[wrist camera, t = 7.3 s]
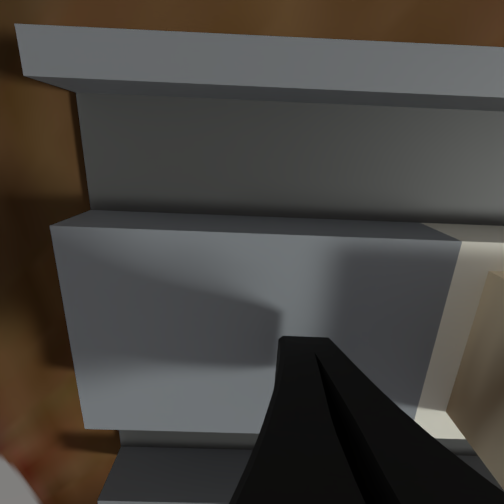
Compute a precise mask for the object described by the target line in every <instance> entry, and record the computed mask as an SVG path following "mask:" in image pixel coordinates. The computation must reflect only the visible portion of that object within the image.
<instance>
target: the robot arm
mask: <svg viewBox="0 0 504 504" xmlns="http://www.w3.org/2000/svg"><path fill="white" fill-rule="evenodd" d="M229 504H504V492H503V491H502V490H501V489H499V488H498V487H497V486H495V485H494V484H492V483H491V482H490V481H488V480H487V479H486V478H484V477H483V476H482V475H481V474H479V473H478V472H477V471H475V470H474V469H473V468H472V467H470V466H469V465H468V464H466V463H465V462H464V461H463V460H461V459H460V458H459V457H457V456H456V455H455V454H454V453H452V452H451V451H450V450H448V449H447V448H446V447H445V446H443V445H442V444H441V443H440V442H439V441H437V440H436V439H435V438H434V437H433V436H431V435H430V434H429V433H428V432H427V431H425V430H424V429H423V428H422V427H421V426H420V425H419V424H417V423H416V422H415V421H414V420H413V419H412V418H411V417H410V416H408V415H407V414H406V413H405V412H404V411H403V410H402V409H400V408H399V407H398V406H397V405H396V404H395V403H394V402H393V401H392V400H391V399H390V398H389V397H387V396H386V395H385V394H384V393H383V392H382V391H381V390H380V389H379V388H378V387H377V386H376V385H375V384H374V383H373V382H372V381H371V380H370V379H369V378H368V377H367V376H366V375H365V374H364V373H363V372H362V371H361V370H360V369H359V368H358V367H357V366H356V365H355V364H354V363H353V362H352V361H351V360H350V359H349V358H348V357H347V356H346V355H345V354H344V353H343V352H342V351H341V350H340V349H339V348H338V347H337V345H336V344H335V343H334V342H333V341H332V340H331V339H330V338H328V337H304V336H282V337H281V338H279V339H278V350H277V361H276V372H275V383H274V389H273V393H272V397H271V400H270V403H269V406H268V409H267V412H266V415H265V418H264V422H263V424H262V427H261V430H260V433H259V435H258V438H257V441H256V443H255V446H254V448H253V450H252V453H251V455H250V458H249V460H248V463H247V465H246V467H245V470H244V472H243V474H242V476H241V478H240V480H239V483H238V485H237V487H236V489H235V491H234V494H233V496H232V498H231V500H230V502H229Z"/></svg>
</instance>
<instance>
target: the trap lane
mask: <svg viewBox="0 0 504 504" xmlns="http://www.w3.org/2000/svg"><path fill="white" fill-rule="evenodd" d="M15 29H16V35H17V41H18V47H19V52H20V58H21V64H22V70H23V75H24V76H26V77H29V78H32V79H35V80H38V81H41V82H45V83H48V84H51V85H54V86H57V87H60V88H63V89H67V90H70V91H73V92H76V99H77V106H78V114H79V122H80V130H81V138H82V146H83V153H84V161H85V169H86V177H87V185H88V192H89V200H90V208H91V210H89V211H87V212H84V213H82V214H79V215H76V216H74V217H71V218H69V219H66V220H63V221H61V222H58V223H56V224H53V225H50V231H51V237H52V242H53V248H54V254H55V260H56V265H57V271H58V277H59V283H60V288H61V294H62V300H63V306H64V311H65V317H66V323H67V329H68V334H69V340H70V346H71V352H72V357H73V363H74V369H75V375H76V380H77V386H78V392H79V398H80V404H81V409H82V415H83V421H84V427H85V429H110V430H119V435H120V443H121V448H120V450H119V452H118V455H117V457H116V459H115V461H114V464H113V466H112V468H111V471H110V473H109V475H108V477H107V480H106V482H105V484H104V487H103V489H102V491H101V494H100V496H99V498H98V500H97V501H98V504H229V502H230V500H231V498H232V496H233V494H234V491H235V489H236V487H237V485H238V483H239V480H240V478H241V476H242V474H243V472H244V470H245V467H246V465H247V463H248V460H249V458H250V455H251V453H252V450H253V448H254V446H255V443H256V441H257V438H258V435H259V433H260V430H261V427H262V424H263V422H264V418H265V415H266V412H267V409H268V406H269V403H270V400H271V397H272V393H273V389H274V383H275V372H276V361H277V350H278V339H279V338H281V337H282V336H304V337H328V338H330V339H331V340H332V341H333V342H334V343H335V344H336V345H337V347H338V348H339V349H340V350H341V351H342V352H343V353H344V354H345V355H346V356H347V357H348V358H349V359H350V360H351V361H352V362H353V363H354V364H355V365H356V366H357V367H358V368H359V369H360V370H361V371H362V372H363V373H364V374H365V375H366V376H367V377H368V378H369V379H370V380H371V381H372V382H373V383H374V384H375V385H376V386H377V387H378V388H379V389H380V390H381V391H382V392H383V393H384V394H385V395H386V396H387V397H389V398H390V399H391V400H392V401H393V402H394V403H395V404H396V405H397V406H398V407H399V408H400V409H402V410H403V411H404V412H405V413H406V414H407V415H408V416H410V417H411V418H412V419H413V420H414V421H415V422H416V423H417V424H419V425H420V426H421V427H422V428H423V429H424V430H425V431H427V432H428V433H429V434H430V435H431V436H433V437H434V438H435V439H436V440H437V441H439V442H440V443H441V444H442V445H443V446H445V447H446V448H447V449H448V450H450V451H451V452H452V453H454V454H455V455H456V456H457V457H459V458H460V459H461V460H463V461H464V462H465V463H466V464H468V465H469V466H470V467H472V468H473V469H474V470H475V471H477V472H478V473H479V474H481V475H482V476H483V477H484V478H486V479H487V480H488V481H490V482H491V483H492V484H494V485H495V486H497V487H498V488H499V489H501V490H502V491H503V492H504V490H503V489H502V487H501V486H500V485H499V483H498V482H497V480H496V479H495V478H494V476H493V475H492V474H491V472H490V471H489V470H488V468H487V467H486V466H485V464H484V463H483V462H482V460H481V459H480V457H479V456H478V455H477V453H476V452H475V451H474V449H473V448H472V447H471V445H470V444H469V443H468V441H467V440H466V439H465V437H464V436H463V434H462V433H461V432H460V430H459V429H458V428H457V426H456V425H455V424H454V422H453V421H452V420H451V418H450V417H449V416H448V414H447V413H446V409H447V405H448V402H449V399H450V396H451V392H452V389H453V386H454V382H455V379H456V376H457V373H458V369H459V366H460V363H461V360H462V356H463V353H464V350H465V347H466V343H467V340H468V337H469V334H470V330H471V327H472V324H473V321H474V317H475V314H476V311H477V308H478V304H479V301H480V298H481V294H482V291H483V288H484V285H485V281H486V278H487V275H488V272H489V271H501V272H504V47H487V46H467V45H446V44H425V43H404V42H383V41H363V40H342V39H321V38H300V37H280V36H259V35H238V34H217V33H197V32H176V31H155V30H134V29H113V28H93V27H72V26H51V25H30V24H15Z"/></svg>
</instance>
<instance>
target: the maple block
mask: <svg viewBox="0 0 504 504" xmlns="http://www.w3.org/2000/svg"><path fill="white" fill-rule="evenodd" d="M446 413H447V414H448V416H449V417H450V418H451V420H452V421H453V422H454V424H455V425H456V426H457V428H458V429H459V430H460V432H461V433H462V434H463V436H464V437H465V439H466V440H467V441H468V443H469V444H470V445H471V447H472V448H473V449H474V451H475V452H476V453H477V455H478V456H479V457H480V459H481V460H482V462H483V463H484V464H485V466H486V467H487V468H488V470H489V471H490V472H491V474H492V475H493V476H494V478H495V479H496V480H497V482H498V483H499V485H500V486H501V487H502V489H503V490H504V272H501V271H489V272H488V275H487V278H486V281H485V285H484V288H483V291H482V294H481V298H480V301H479V304H478V308H477V311H476V314H475V317H474V321H473V324H472V327H471V330H470V334H469V337H468V340H467V343H466V347H465V350H464V353H463V356H462V360H461V363H460V366H459V369H458V373H457V376H456V379H455V382H454V386H453V389H452V392H451V396H450V399H449V402H448V405H447V409H446Z"/></svg>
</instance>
